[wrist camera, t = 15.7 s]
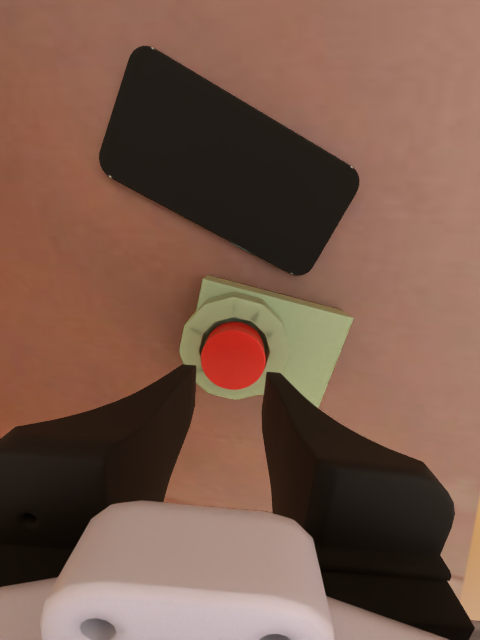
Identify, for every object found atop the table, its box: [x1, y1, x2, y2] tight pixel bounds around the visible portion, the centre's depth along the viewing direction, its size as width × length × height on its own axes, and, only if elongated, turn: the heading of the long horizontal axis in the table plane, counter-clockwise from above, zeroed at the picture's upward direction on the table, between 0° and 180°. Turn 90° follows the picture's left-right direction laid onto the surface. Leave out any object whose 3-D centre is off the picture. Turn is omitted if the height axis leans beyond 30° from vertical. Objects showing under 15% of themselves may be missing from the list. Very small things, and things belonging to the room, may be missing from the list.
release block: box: [179, 275, 353, 408], centre depth 18 cm, size 10×7×4 cm
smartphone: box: [99, 46, 359, 275], centre depth 16 cm, size 7×1×15 cm
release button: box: [201, 322, 266, 390], centre depth 15 cm, size 4×4×2 cm
